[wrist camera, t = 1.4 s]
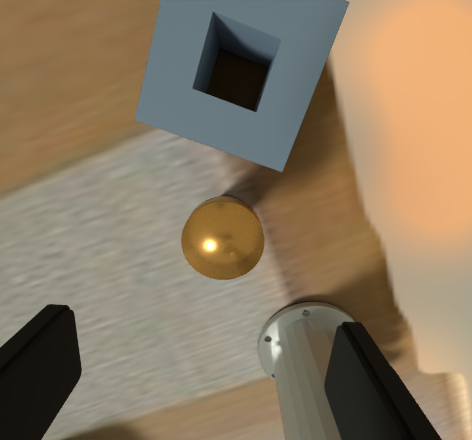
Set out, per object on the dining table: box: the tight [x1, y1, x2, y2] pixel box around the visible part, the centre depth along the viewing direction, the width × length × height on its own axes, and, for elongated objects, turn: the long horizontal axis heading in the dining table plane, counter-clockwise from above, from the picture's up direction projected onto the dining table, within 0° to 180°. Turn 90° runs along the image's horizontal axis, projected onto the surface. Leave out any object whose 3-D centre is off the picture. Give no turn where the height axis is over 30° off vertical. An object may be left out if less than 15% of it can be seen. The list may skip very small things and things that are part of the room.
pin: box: [181, 195, 264, 280], centre depth 24 cm, size 6×6×9 cm
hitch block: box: [135, 0, 349, 172], centre depth 21 cm, size 11×11×7 cm
